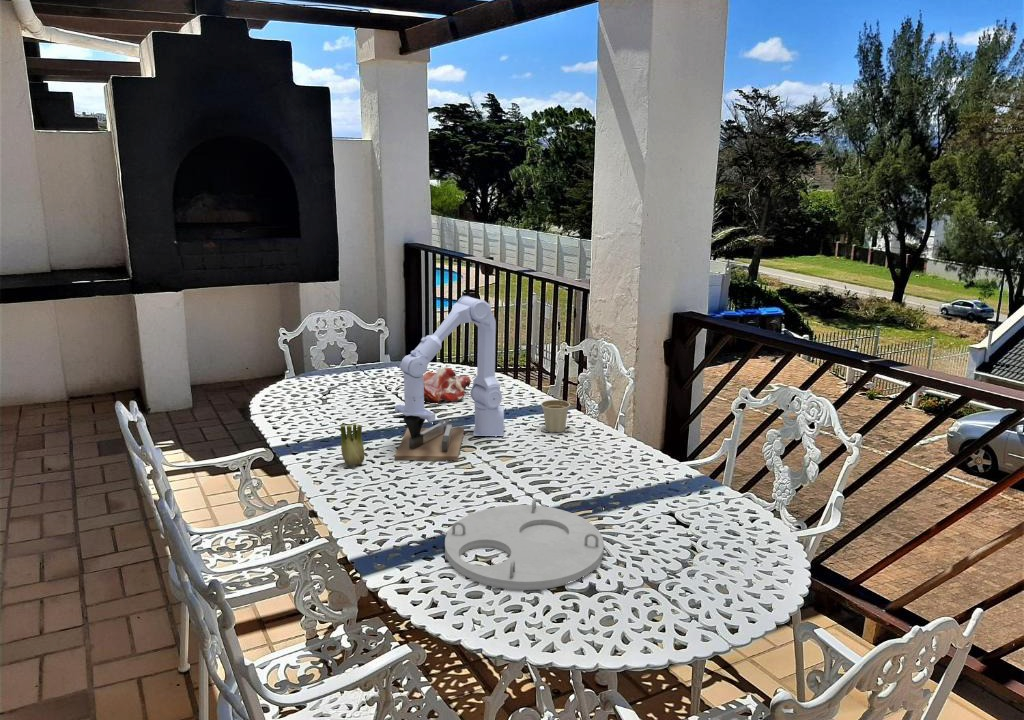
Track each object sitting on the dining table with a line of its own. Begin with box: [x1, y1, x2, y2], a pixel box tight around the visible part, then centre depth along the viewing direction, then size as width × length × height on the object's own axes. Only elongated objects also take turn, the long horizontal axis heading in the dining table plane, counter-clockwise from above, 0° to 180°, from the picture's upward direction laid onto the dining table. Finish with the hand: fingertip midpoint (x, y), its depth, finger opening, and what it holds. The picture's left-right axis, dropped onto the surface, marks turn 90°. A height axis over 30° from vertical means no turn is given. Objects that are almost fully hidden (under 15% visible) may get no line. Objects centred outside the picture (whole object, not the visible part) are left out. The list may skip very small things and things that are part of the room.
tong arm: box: [409, 419, 450, 449], centre depth 221 cm, size 19×3×3 cm, turn 152°
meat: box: [423, 366, 472, 403], centre depth 268 cm, size 21×21×10 cm
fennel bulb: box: [339, 423, 365, 467], centre depth 204 cm, size 6×5×12 cm
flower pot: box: [540, 399, 571, 433], centre depth 234 cm, size 9×9×9 cm
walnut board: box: [394, 427, 465, 462], centre depth 220 cm, size 18×24×2 cm
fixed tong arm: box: [442, 424, 453, 452], centre depth 218 cm, size 15×2×3 cm, turn 179°
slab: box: [444, 498, 605, 591], centre depth 160 cm, size 35×35×5 cm
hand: (415, 439), depth 217 cm, fingers closed
